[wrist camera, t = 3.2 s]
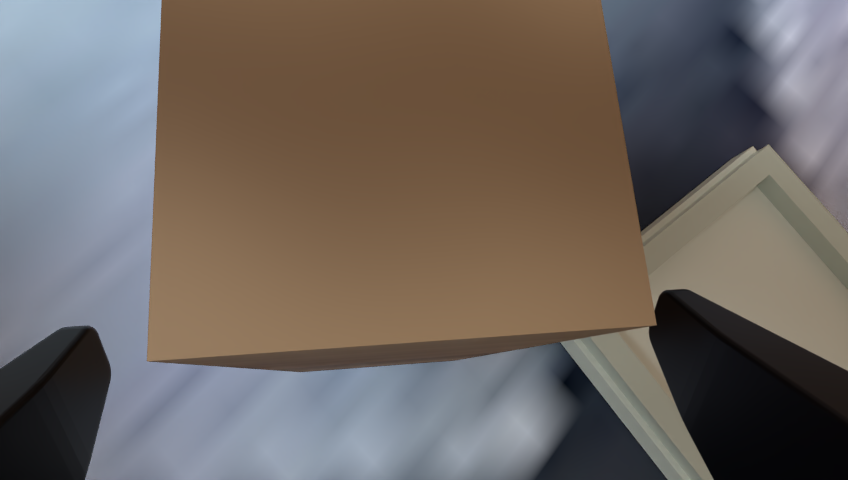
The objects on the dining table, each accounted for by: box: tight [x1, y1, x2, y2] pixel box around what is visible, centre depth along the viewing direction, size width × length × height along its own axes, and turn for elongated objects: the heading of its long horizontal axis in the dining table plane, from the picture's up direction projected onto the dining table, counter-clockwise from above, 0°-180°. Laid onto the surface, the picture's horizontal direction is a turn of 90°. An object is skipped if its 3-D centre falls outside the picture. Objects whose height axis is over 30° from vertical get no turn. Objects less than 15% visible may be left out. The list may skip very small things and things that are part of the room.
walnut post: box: [147, 0, 657, 372], centre depth 12 cm, size 5×5×13 cm
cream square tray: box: [560, 145, 848, 480], centre depth 18 cm, size 10×10×2 cm
